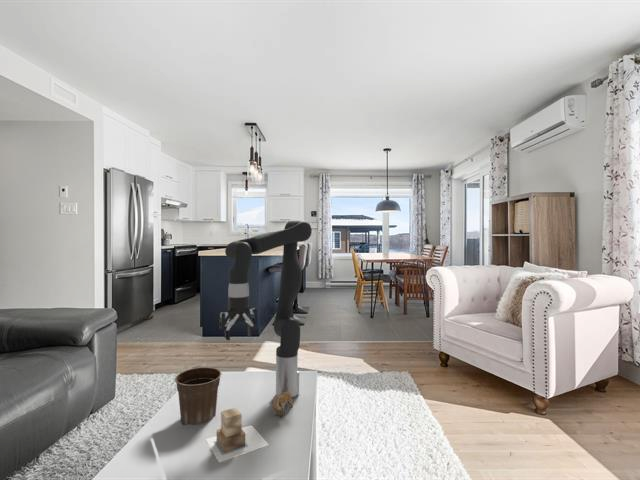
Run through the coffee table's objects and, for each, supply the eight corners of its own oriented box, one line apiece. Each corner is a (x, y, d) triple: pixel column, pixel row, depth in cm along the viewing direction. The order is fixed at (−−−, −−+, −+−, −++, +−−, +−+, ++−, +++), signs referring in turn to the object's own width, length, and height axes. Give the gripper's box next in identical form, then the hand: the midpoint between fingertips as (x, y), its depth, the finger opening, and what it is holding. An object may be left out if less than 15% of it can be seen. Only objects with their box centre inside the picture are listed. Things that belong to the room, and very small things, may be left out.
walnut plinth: (237, 435, 115) (237, 423, 115) (245, 446, 109) (245, 433, 109) (216, 442, 111) (216, 429, 111) (223, 453, 105) (223, 440, 105)
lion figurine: (284, 423, 125) (284, 398, 125) (270, 421, 126) (270, 396, 126) (294, 404, 140) (294, 381, 140) (282, 402, 141) (282, 380, 141)
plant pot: (206, 433, 118) (207, 386, 118) (164, 428, 121) (165, 382, 121) (228, 410, 134) (229, 369, 134) (191, 406, 137) (191, 365, 137)
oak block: (235, 425, 114) (236, 407, 114) (241, 432, 109) (241, 413, 110) (220, 430, 111) (221, 411, 111) (226, 437, 107) (226, 418, 107)
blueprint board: (251, 427, 121) (251, 424, 121) (268, 448, 110) (268, 444, 110) (205, 442, 112) (205, 439, 112) (219, 465, 101) (219, 462, 101)
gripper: (252, 291, 136) (252, 332, 136) (216, 295, 128) (216, 338, 128) (260, 294, 130) (260, 337, 130) (223, 298, 122) (223, 344, 122)
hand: (238, 338), depth 129 cm, fingers open, 8 cm apart
